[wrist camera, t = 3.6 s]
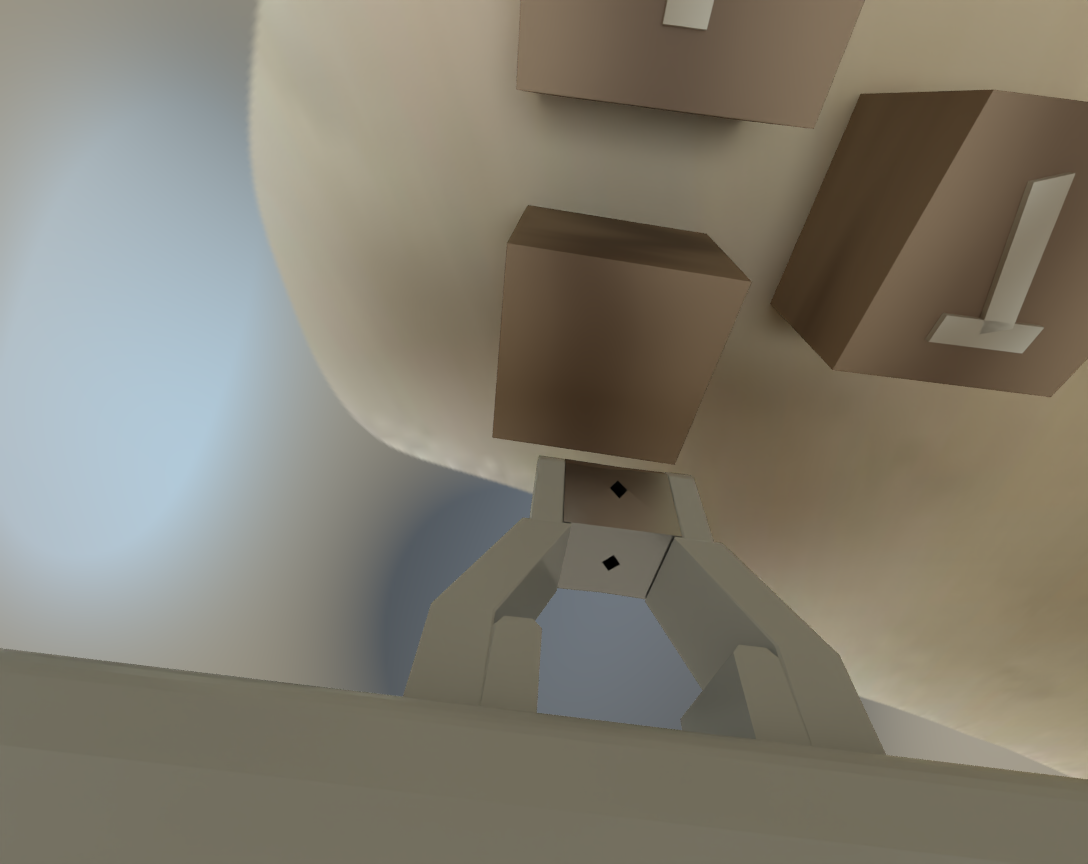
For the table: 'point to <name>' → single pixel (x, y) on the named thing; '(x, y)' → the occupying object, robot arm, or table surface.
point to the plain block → (610, 333)
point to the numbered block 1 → (689, 54)
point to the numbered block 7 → (950, 242)
